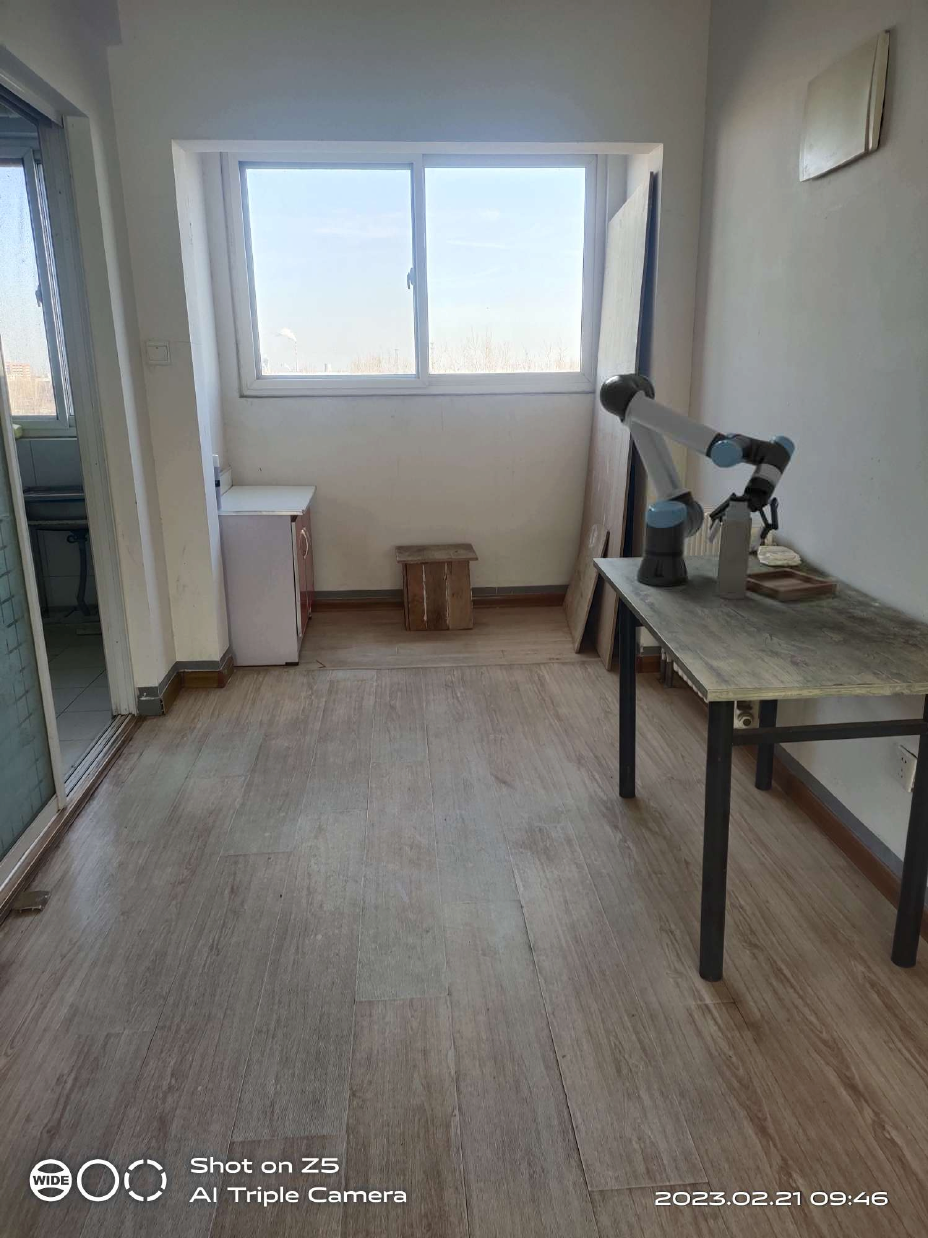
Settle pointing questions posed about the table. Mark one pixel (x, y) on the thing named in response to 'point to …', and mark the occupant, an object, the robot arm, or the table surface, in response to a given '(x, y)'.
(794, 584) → the walnut tray
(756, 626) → the table surface
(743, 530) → the thermos bottle
